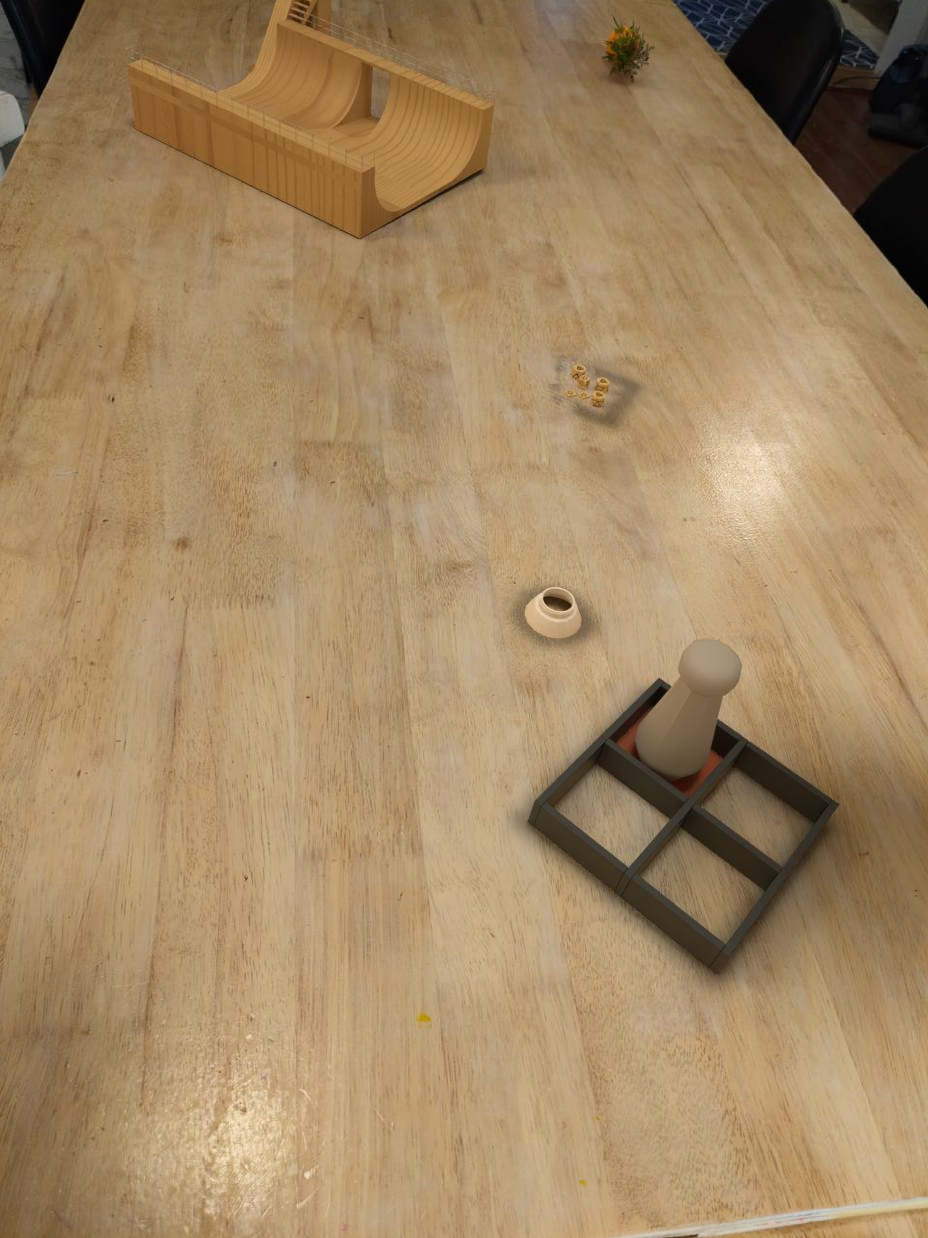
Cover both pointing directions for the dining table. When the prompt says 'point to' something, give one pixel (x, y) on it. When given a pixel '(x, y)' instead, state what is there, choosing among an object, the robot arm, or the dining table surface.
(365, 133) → the skate ramp
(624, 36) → the christmas decoration
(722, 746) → the grid
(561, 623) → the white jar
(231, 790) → the dining table surface
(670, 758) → the beige game pawn
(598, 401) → the golden ring cluster
